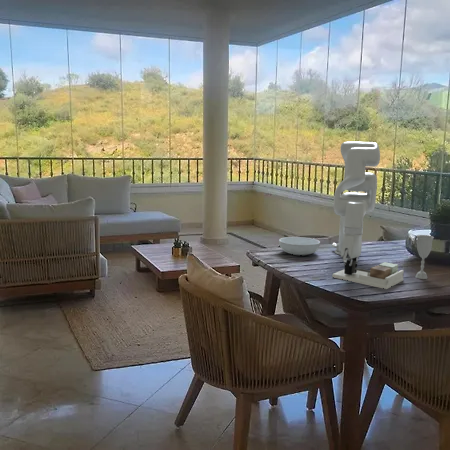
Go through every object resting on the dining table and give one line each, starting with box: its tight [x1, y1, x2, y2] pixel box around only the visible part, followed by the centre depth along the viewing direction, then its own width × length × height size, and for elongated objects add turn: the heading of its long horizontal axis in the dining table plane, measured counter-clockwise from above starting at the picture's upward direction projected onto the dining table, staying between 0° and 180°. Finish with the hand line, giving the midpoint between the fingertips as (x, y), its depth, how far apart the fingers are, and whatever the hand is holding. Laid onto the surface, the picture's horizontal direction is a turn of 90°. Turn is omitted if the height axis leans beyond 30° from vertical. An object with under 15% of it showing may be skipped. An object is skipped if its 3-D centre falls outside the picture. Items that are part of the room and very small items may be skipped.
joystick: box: [348, 259, 391, 279], centre depth 207 cm, size 18×6×6 cm, turn 50°
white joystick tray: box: [332, 261, 405, 290], centre depth 211 cm, size 24×17×7 cm
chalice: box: [415, 234, 435, 280], centre depth 214 cm, size 7×7×18 cm
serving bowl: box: [278, 236, 321, 256], centre depth 255 cm, size 21×21×7 cm
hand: (350, 272), depth 212 cm, fingers closed on joystick, 3 cm apart
